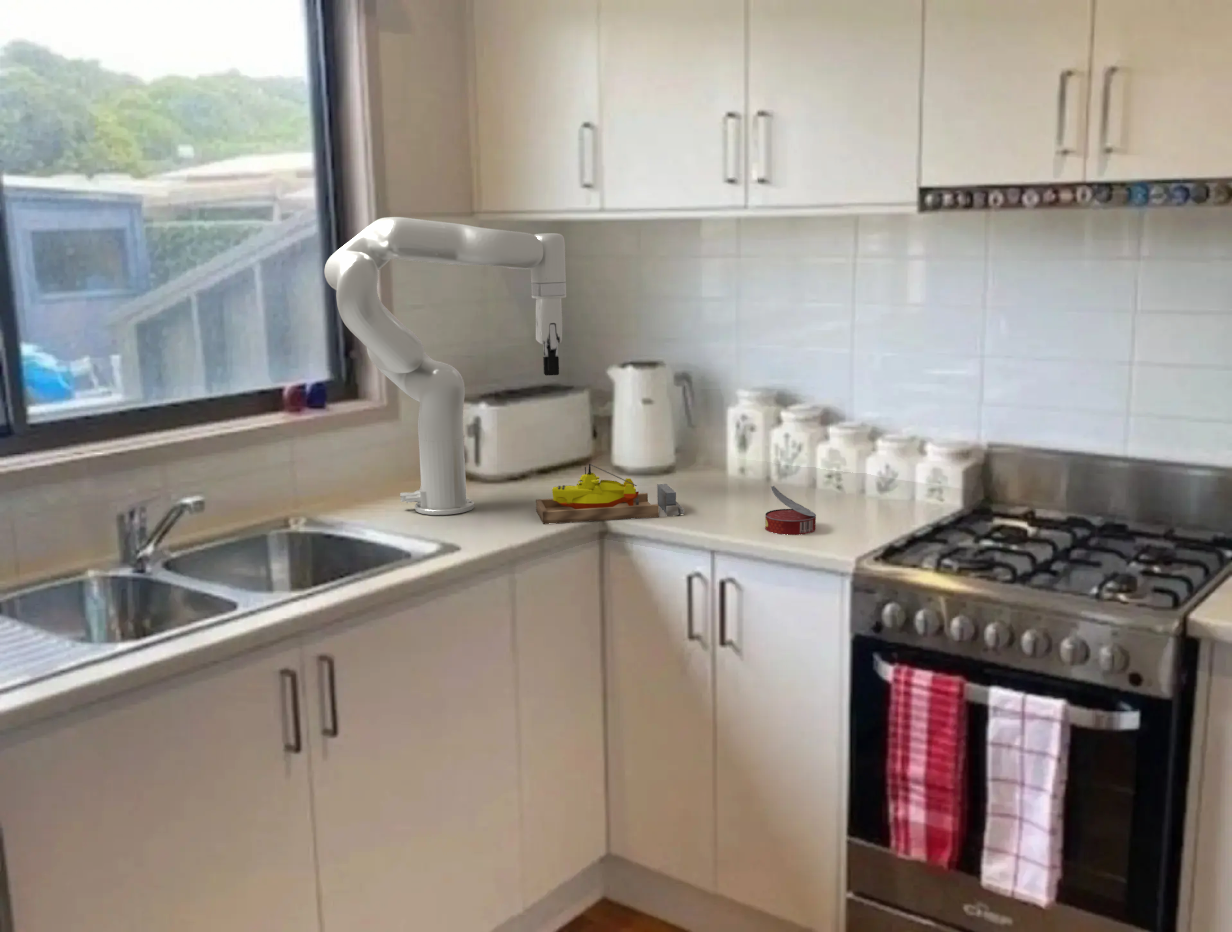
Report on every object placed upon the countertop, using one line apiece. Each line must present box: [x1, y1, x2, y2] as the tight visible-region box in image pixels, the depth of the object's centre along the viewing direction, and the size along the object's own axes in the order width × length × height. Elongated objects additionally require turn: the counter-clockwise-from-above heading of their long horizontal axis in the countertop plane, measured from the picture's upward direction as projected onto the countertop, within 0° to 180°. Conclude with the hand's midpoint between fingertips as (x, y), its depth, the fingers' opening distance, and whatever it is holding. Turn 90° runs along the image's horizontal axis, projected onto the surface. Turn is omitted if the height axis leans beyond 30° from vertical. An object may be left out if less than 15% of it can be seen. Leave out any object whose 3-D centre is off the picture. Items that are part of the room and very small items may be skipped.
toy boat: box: [551, 463, 640, 509], centre depth 252 cm, size 6×18×10 cm, turn 91°
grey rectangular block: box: [656, 483, 677, 514], centre depth 255 cm, size 2×9×4 cm, turn 10°
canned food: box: [764, 485, 817, 536], centre depth 237 cm, size 11×10×10 cm
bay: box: [535, 492, 685, 525], centre depth 257 cm, size 30×20×2 cm
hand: (551, 374), depth 267 cm, fingers closed
